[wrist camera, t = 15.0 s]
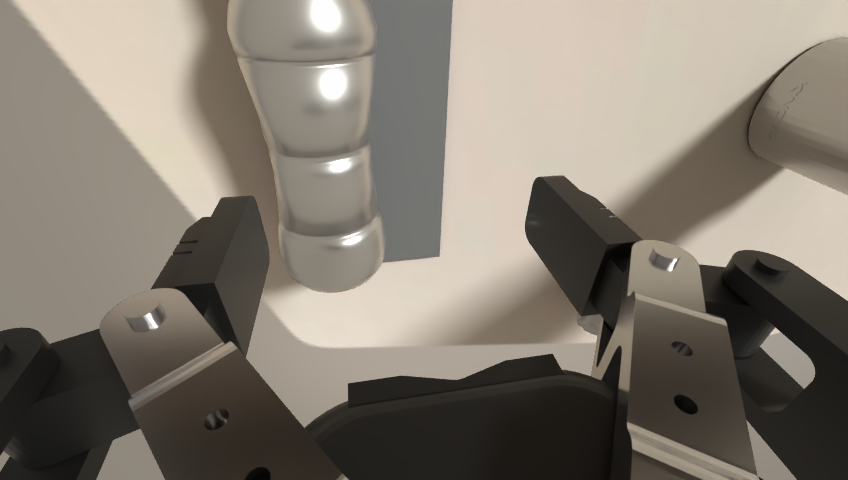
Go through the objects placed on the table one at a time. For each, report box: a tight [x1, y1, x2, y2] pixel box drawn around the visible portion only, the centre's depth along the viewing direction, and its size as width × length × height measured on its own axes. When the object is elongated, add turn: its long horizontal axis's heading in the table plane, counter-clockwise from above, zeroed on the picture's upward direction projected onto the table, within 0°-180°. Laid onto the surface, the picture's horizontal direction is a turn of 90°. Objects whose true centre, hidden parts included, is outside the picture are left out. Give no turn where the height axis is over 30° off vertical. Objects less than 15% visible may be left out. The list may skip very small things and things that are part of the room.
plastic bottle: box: [227, 0, 386, 293], centre depth 20 cm, size 6×7×20 cm
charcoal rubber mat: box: [368, 0, 453, 262], centre depth 23 cm, size 10×24×1 cm, turn 0°
